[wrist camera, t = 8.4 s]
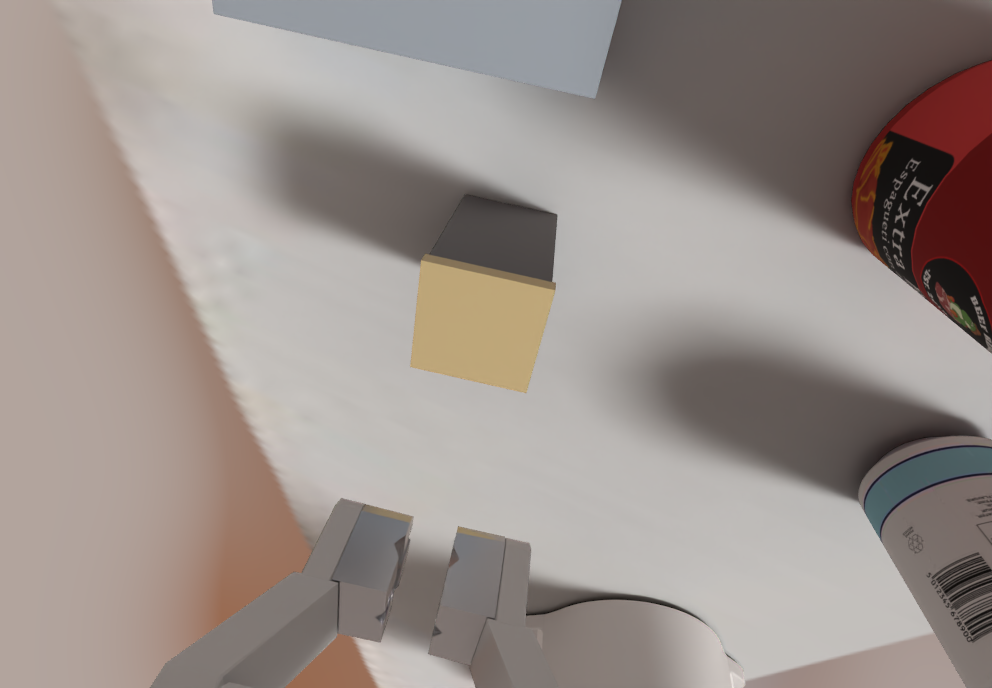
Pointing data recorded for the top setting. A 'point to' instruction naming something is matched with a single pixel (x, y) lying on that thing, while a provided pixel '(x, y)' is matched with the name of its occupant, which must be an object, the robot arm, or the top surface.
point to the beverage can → (941, 539)
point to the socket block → (460, 33)
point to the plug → (486, 294)
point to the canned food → (936, 198)
